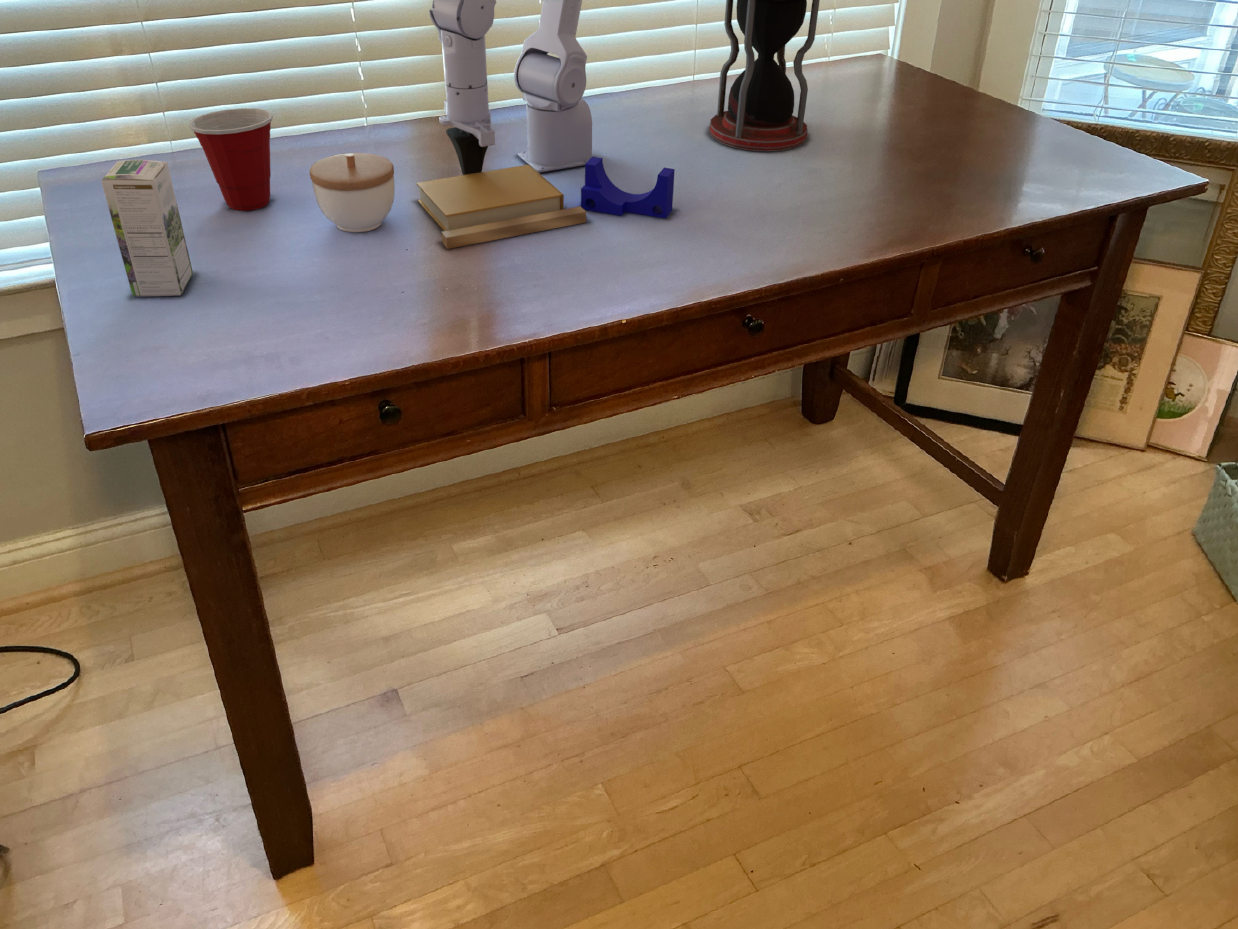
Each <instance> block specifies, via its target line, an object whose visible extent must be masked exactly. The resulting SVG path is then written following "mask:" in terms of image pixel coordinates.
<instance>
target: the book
mask: <svg viewBox="0 0 1238 929" xmlns="http://www.w3.org/2000/svg"><path fill="white" fill-rule="evenodd" d="M416 186H417V187H418V188H419V195H420V199H418V200H417V202H418V203H419V205H420V206H421V207H422V208H423V209H424V210H425V211H426V213H427V214H428V215H429V216H430V217H431V218H432V219H433V221H434V222H435V223H436V224H437V225H438V226H439V227H440V229H442V231H443V232H444V231H449V230H454V229H460V228H465V227H471V226H476V225H481V224H487V223H492V222H498V221H503V220H509V219H514V218H519V217H525V216H530V215H536V214H541V213H546V212H552V211H557V210H563V209H565V207H564V206H565V205H564V201H565V200H564V193H562V191H560V190H559V189H558V188H557V187H556V186H555V185H553V184H552V183H551V182H550V181H549V180H548V179H546V178H545V176H543V175H542V174H541V173H540V172H537V171H536V170H535V169H533V168H532V167H531V166H530V165H529V164H524V165H517V166H510V167H505V168H498V169H493V170H486V171H482V172H479V173H473V174H467V175H463V174H462V175H461V174H460V175H455V176H449V177H444V178H436V179H430V180H425V181H418V182H416Z"/></svg>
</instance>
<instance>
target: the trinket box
mask: <svg viewBox="0 0 1238 929" xmlns="http://www.w3.org/2000/svg"><path fill="white" fill-rule="evenodd" d="M309 178H310V180H311V185H312V189H313V194H314V198H315V200H316V203H317V205H318V208H319V209H320V211H321V213H322V214H323V215H324V216H325V218H326V219H328V220H329V221H330V222H331V223H333V224H334V225H335V226H336V228H337V229H338V230H341V231H343V232H348V233H365V232H369V231H373V230H375V229H378V228H379V227H380V226H382V224H383V221H384V220H385V219H386V218H387V216H388V215H390V212H391V210H392V207H393V206H394V205H393V204H394V201H395V189H396V188H395V168H394V163H393V162H392V161H391V159H388V158H387V157H386V156H385V157H384V156H382V155H379V154H376V153H367V152H345V153H339V154H334V155H330V156H326V157H323V158H321V159H318V160H317V161H315V162H314V163H313V164H312V165H311V166H310V168H309Z"/></svg>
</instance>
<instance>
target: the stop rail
mask: <svg viewBox="0 0 1238 929" xmlns="http://www.w3.org/2000/svg"><path fill="white" fill-rule="evenodd" d="M585 223H587V210H584V209H583V208H581V205H579V206H573V207H569V208H564V209H563V210H557V211H552V212H546V213H541V214H536V215H530V216H525V217H519V218H514V219H509V220H503V221H498V222H492V223H487V224H481V225H476V226H471V227H465V228H460V229H454V230H449V231H444V230H443V231H441V242H442V244H443V246H445V249H447V250H450V249H455V248H460V247H465V246H470V245H476V244H482V243H486V242H492V241H496V240H503V239H507V238H512V237H518V236H522V235H523V236H524V235H527V234H528V235H529V234H532V233H538V232H543V231H548V230H553V229H560V228H564V227H569V226H574V225H581V224H585Z"/></svg>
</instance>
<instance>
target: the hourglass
mask: <svg viewBox="0 0 1238 929" xmlns="http://www.w3.org/2000/svg"><path fill="white" fill-rule="evenodd" d="M725 2H726V3H725V10H724V12H725V13H724V22H723V23H724V29H725V33H726V35H727V37H728V39H729V41H730V53H729V56H728V59H727V61H725V62H724V64H723V65H722V68H721V70H720V73H719V86H718V96H717V97H718V100H717V109H716V110H717V112H716V114H715V115H714V116H712V118H711V119H710V121H709V135H710V136H711V137H712V139H713V140H715V141H717V142H719V143H720V144H723V145H724V146H729V147H730V148H731V147H732V148H734V149H738V150H746V151H751V152H780V151H781V152H782V151H787V150H791V149H794V148H796V147H798V146H801V145H803V144H804V143H805V141H806V140H807V139H808V132H809V129H808V124H807V123H805V114H806V106H807V101H808V100H807V99H808V91H809V88H808V82H807V81H808V80H807V78H806V77H805V75H804V73H803V61H804V58H805V54H806V53H807V52H808V51H809V50H810V49H811V48H812V47H813V44H814V42H815V39H816V32H817V23H818V15H819V9H820V0H812V1H811V9H810V17H809V23H808V24H809V25H808V31H807V38H806V40H805V41H804V44H803V45H802V46H801V47H800V48H799V49H798V50H796V54H795V56H794V59H793V61H792V63H793V74H794V76H795V77H796V78H797V81H798V84H799V88H800V93H799V100H798V110H797V116H795V115H793V114H794V112H795V111H794V109H795V90H794V88H793V84H792V82H791V80H790V78H789V77H788V76H787V74H786V73H787V61H786V58H785V57H786V56H785V55H786V54H785V53H786V46H787V44H788V43H789V42H790V41H791V40H792V39H794V37H795V36H796V35H797V34H798V33H799V31H800V29H801V28H802V26H803V24H804V22H805V18H806V14H807V6H808V1H807V0H736V21H737V24H738V27H739V30H740V31H741V33H742V34H743V36H744V40H743V46H744V53H745V69H744V70H743V71H742V72H741V73H740V74H739V75H738V76H737V77H736V78H735V80H734V81H733V83H732V84H731V87H730V90H729V94H728V101H727V110H725V104H726V91H727V80H728V73H729V71H730V69H731V67H732V66H733V65H734V64H735V63H736V62H737V59H738V56H739V53H740V45H739V38H738V37H737V35H736V33H735V32H734V27H733V23H732V22H733V9H734V0H726V1H725ZM754 51H755V52H756V53H757V58H756V59H755V52H754ZM775 55H776V60H777V61H776V60H775Z"/></svg>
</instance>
